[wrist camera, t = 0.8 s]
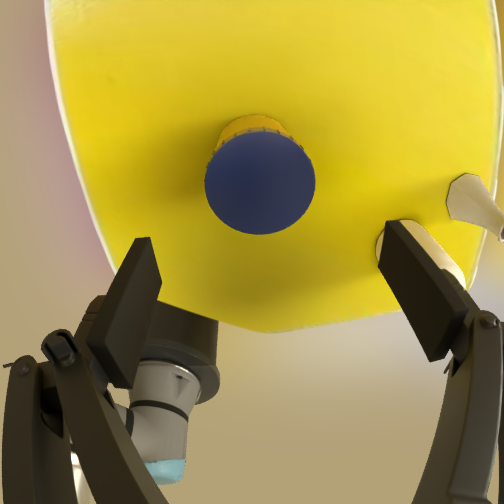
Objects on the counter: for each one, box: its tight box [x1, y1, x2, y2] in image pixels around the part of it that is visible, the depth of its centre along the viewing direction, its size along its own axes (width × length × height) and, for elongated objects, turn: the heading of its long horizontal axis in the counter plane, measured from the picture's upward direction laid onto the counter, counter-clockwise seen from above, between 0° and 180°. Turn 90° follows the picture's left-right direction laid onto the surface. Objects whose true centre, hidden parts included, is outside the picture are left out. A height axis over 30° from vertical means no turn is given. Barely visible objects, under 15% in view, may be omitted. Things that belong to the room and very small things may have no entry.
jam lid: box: [204, 127, 315, 235], centre depth 23 cm, size 8×8×2 cm
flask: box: [446, 173, 504, 243], centre depth 30 cm, size 7×7×10 cm
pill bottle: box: [376, 220, 465, 290], centre depth 32 cm, size 8×8×15 cm
